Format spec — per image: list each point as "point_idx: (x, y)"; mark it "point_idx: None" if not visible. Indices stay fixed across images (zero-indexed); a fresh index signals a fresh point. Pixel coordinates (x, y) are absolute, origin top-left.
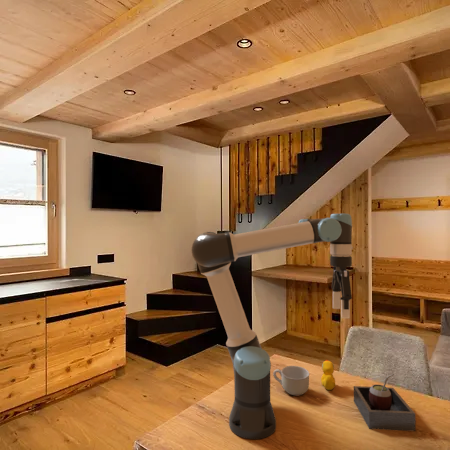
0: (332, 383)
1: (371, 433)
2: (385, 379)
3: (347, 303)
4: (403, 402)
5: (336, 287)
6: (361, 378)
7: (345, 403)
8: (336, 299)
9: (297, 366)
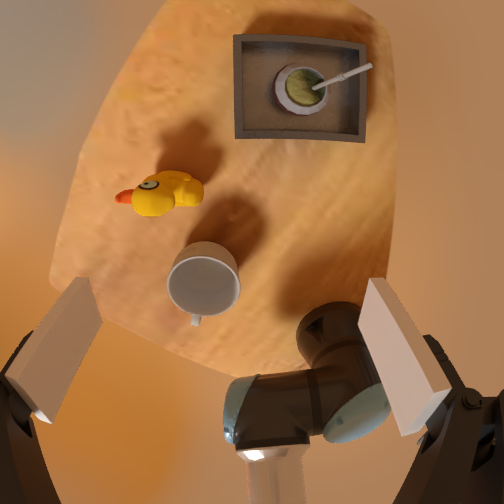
0: (201, 186)
1: (365, 140)
2: (342, 80)
3: (450, 378)
4: (317, 42)
5: (31, 451)
6: (110, 93)
7: (250, 158)
8: (64, 353)
9: (168, 280)
